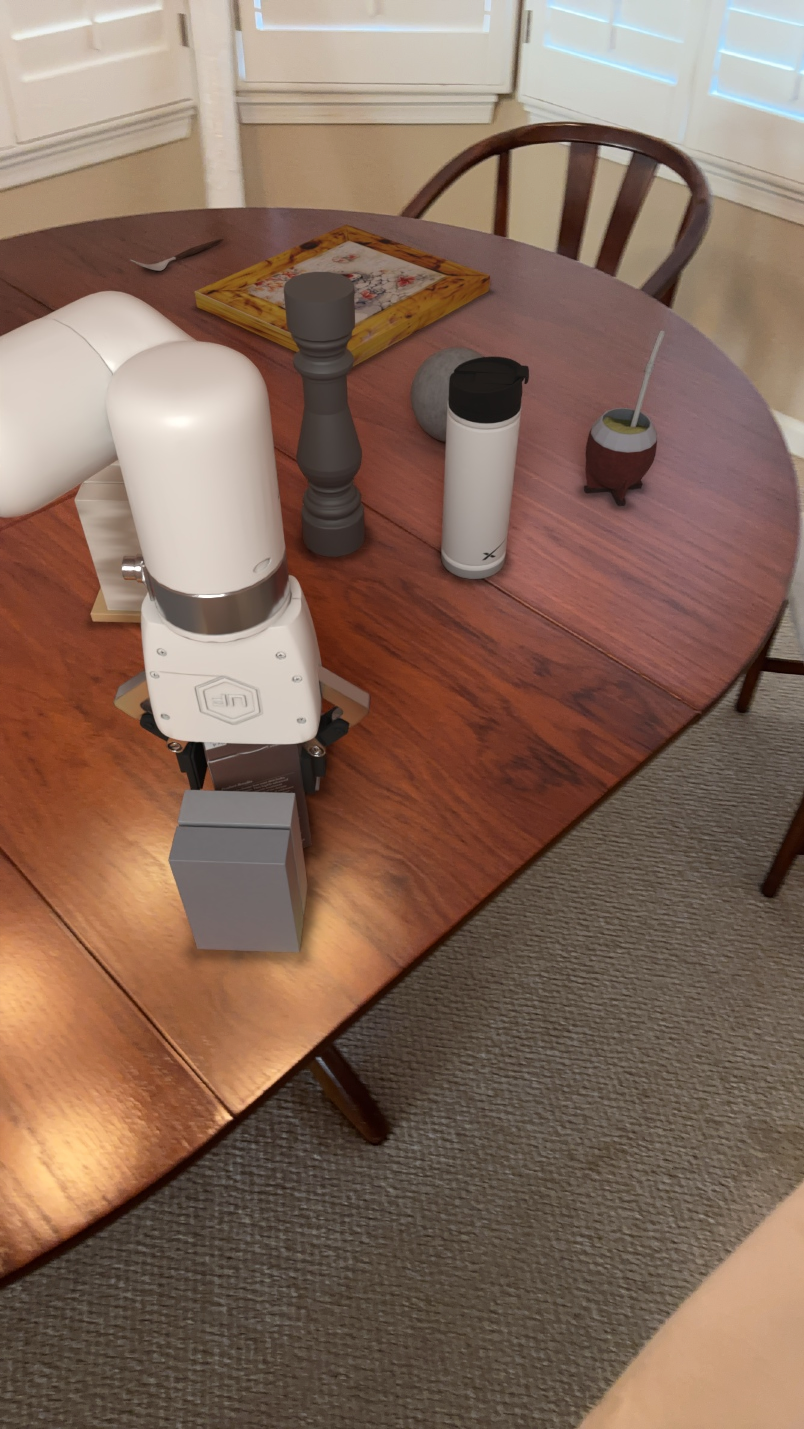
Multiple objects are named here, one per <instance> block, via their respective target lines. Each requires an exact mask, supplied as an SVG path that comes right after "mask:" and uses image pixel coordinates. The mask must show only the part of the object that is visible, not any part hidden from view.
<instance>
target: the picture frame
mask: <svg viewBox="0 0 804 1429" xmlns="http://www.w3.org/2000/svg"><path fill="white" fill-rule="evenodd" d="M310 272H332V273H336V274H341V275H343V276H345V277H347V278H349V279H350V280H351V281H352V282H353V284H354V300H355V328H354V329H353V330H352V337H351V339H350V340H349V342H348V345H347V349H348V350H350V352H351V353H352V355H353V356H354V361H353V367H355V366H357V365H359V364H360V363H363V362H365V361H366V360H368V359H369V358H372V357H373V356H375V355H377V354H379V353H381V352H382V351H384V350H386V349H388V348H389V347H391V346H393V345H395V344H397V343H398V342H400V341H402V340H403V339H406V338H407V337H409V336H411V335H413V334H415V333H416V332H418V331H420V330H422V329H423V328H425V327H427V326H429V325H430V324H432V323H434V322H436V321H438V320H439V319H442V318H443V317H445V316H447V315H449V314H450V313H452V312H454V311H456V310H458V309H459V308H461V307H463V306H465V305H466V304H469V303H470V302H472V301H473V300H476V299H477V298H479V297H481V296H482V295H484V294H486V293H488V292H489V291H490V284H491V283H490V282H491V281H490V280H491V275H490V274H487V273H484V272H482V271H479V270H477V269H474V268H472V267H471V268H470V267H468V266H465V265H462V264H459V263H457V262H453V261H451V260H448V259H445V258H443V257H440V256H437V255H434V254H431V253H428V252H426V251H422V250H420V249H417V248H415V247H412V246H409V245H406V244H403V243H400V242H398V241H395V240H392V239H389V238H386V237H383V236H380V235H378V234H374V233H372V232H369V231H367V230H364V229H360V228H358V227H355V226H353V225H350V224H344V225H342V226H340V227H338V228H335V229H333V230H330V231H328V232H325V233H324V234H322V235H319V236H317V237H314V238H312V239H310V240H308V241H305V242H302V243H300V244H299V245H297V246H294V247H292V248H290V249H287V250H285V251H283V252H281V253H279V254H276V255H274V256H272V257H269V258H267V259H265V260H263V261H260V262H258V263H255V264H253V265H251V266H248V267H246V268H244V269H241V270H239V271H238V272H235V273H233V274H231V275H228V276H226V277H224V278H222V279H220V280H217V281H215V282H213V283H210V284H208V285H205V286H204V287H202V288H199V289H197V290H195V291H194V296H195V297H194V298H195V302H196V308H198V309H200V310H202V311H204V312H207V313H209V314H210V315H212V316H213V315H214V316H215V317H217V318H220V319H222V320H225V321H227V322H229V323H231V324H233V325H235V326H238V327H240V328H243V329H245V330H246V331H249V332H251V333H253V334H256V335H258V336H260V337H262V338H265V339H267V340H269V341H271V342H274V343H276V344H278V345H280V346H282V347H284V348H287V349H289V350H291V351H293V352H296V353H297V352H298V351H299V348H298V347H297V344H296V343H295V341H294V340H293V338H292V337H291V333H290V331H289V330H288V328H287V321H286V310H285V299H284V286H285V283H286V282H287V281H288V280H290V279H291V278H292V277H295V276H298V275H300V274H304V273H310Z"/></svg>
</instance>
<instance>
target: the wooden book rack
mask: <svg viewBox="0 0 804 1429" xmlns="http://www.w3.org/2000/svg"><path fill="white" fill-rule="evenodd" d="M73 501H74V505H75V507H76V510H77V513H78V518H79V520H80V524H81V526H82V530H83V533H84V534H83V535H84V537H85V540H86V543H87V546H88V549H89V553H90V556H91V559H92V563H93V566H94V569H95V573H96V576H97V579H98V582H99V585H100V588H99V590H98V593H97V595H96V598H95V601H94V603H93V605H92V608H91V610H90V617H91V620H92V622H94V623H97V622H98V623H99V622H100V623H135V624H138V623H139V624H141V608H142V603H143V600H144V598H145V597H146V595H147V593H148V589H147V587H146V586H145V585H144V584H143V583H138V582H137V580H125V579H124V578H123V575H122V559H123V557H124V556H136V555H137V554H142V550H141V547H140V543H139V539H138V535H137V531H136V527H135V523H134V519H133V515H132V511H131V507H130V503H129V500H128V496H127V492H126V488H125V484H124V480H123V476H122V472H121V468H120V464H119V460H117V461H115V462H114V463H112V464H111V465H109V466H107V467H106V468H104V469H103V470H101V471H100V472H98V473H96V474H95V475H93V476H92V477H90V478H89V479H87V480H86V481H84V482H82V483H81V484H80V485H79V488H78V491H77V493H76V494H75V498H74V500H73Z"/></svg>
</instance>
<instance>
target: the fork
mask: <svg viewBox="0 0 804 1429" xmlns="http://www.w3.org/2000/svg"><path fill="white" fill-rule="evenodd" d="M223 241H224V238H219V239H215V240H211V241H209V242H206V243H202V244H199V245H196V246H193V247H190V248H188V249H186V250H184V251H182V252H180V253H177V254H176V255H173V256H172V257H170V258H167V259H164V260H162V261H159V262H157V263H150V264H148V263H142V262H139V261H136V260H133V259H132V258H129V261H130V262H132V263H134V264H136V265H138V266H139V267H142V268H145V269H148V270H151V271H152V270H153V271H156V272H157V271H158V272H161V271H164V270H165V269H166V268H167V267H168V265H169V263H170V262H172V261H174V260H175V261H176V260H178V259H181V258H185V257H189V256H193V255H195V254H198V253H200V252H202V251H204V250H206V249H209V248H210V247H213V246H215V245H217V244H219V243H221V242H223Z"/></svg>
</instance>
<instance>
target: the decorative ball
mask: <svg viewBox="0 0 804 1429" xmlns="http://www.w3.org/2000/svg"><path fill="white" fill-rule="evenodd" d="M481 357H485V356H484V355H483V354H482V353H480V352H478V351H476V350H474V349H471V348H468V347H463V346H453V347H446V348H443V349H439V350H437V351H436V352H433V353H432V354H431V355H430V356H428V357H427V358H426V359H424V361H423V362H422V363H421V364H420V366H419V367H418V368H417V370H416V372H415V374H414V376H413V378H412V383H411V386H410V396H409V397H410V406H411V409H412V413H413V415H414V416H413V417H415V420H416V422H417V423H418V425H419V426H420V427H421V429H422V430H423V431H424V432H425V433H426V434H428V435H429V436H430V437H432V438H434V439H435V440H438V441H440V442H443V443H446V429H447V410H448V409H447V406H448V398H449V379H450V376H451V374H452V373H454V369H455V368H456V367H457V366H458V365H460V364H462V363H464V362H466V361H469V360H472V359H476V358H481Z"/></svg>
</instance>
